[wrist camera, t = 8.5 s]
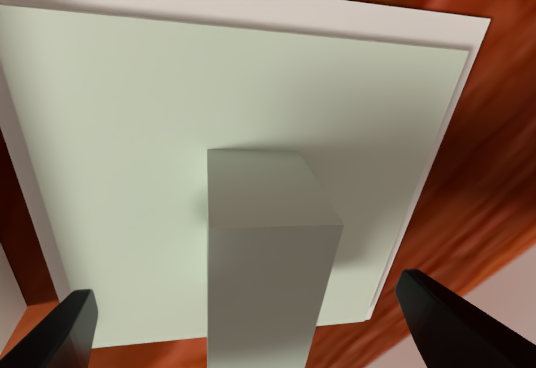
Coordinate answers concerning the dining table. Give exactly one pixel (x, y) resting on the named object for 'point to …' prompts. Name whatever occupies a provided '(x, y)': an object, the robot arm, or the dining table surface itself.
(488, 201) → the dining table surface
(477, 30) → the mat
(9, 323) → the tub
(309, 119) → the lid
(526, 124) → the dining table surface
